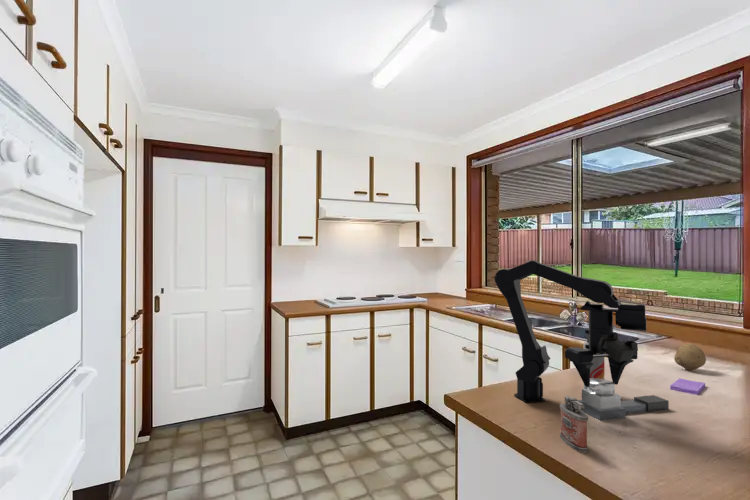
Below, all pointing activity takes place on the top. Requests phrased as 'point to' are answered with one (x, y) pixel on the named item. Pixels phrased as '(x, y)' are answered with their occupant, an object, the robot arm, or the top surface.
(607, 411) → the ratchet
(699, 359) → the potato
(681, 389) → the sponges
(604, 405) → the grey square-based fixture
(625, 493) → the top surface
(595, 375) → the lotion bottle
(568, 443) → the lighter
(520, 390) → the robot arm
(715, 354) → the top surface
